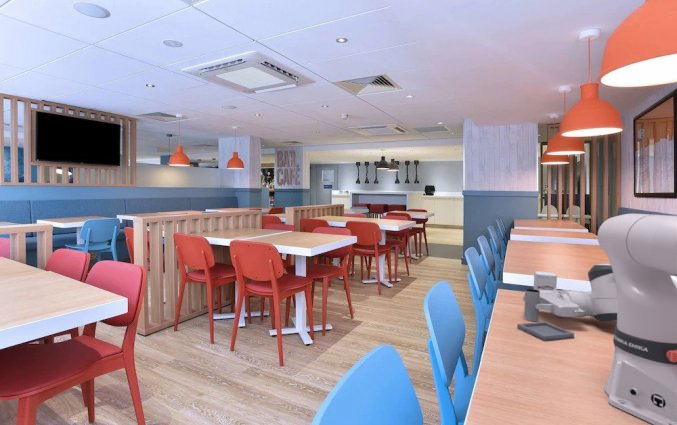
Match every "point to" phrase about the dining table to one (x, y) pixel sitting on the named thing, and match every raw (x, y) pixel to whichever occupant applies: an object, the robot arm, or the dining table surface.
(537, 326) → the tray
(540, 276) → the supplement box
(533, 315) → the grey cylindrical container
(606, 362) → the dining table surface
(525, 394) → the dining table surface
